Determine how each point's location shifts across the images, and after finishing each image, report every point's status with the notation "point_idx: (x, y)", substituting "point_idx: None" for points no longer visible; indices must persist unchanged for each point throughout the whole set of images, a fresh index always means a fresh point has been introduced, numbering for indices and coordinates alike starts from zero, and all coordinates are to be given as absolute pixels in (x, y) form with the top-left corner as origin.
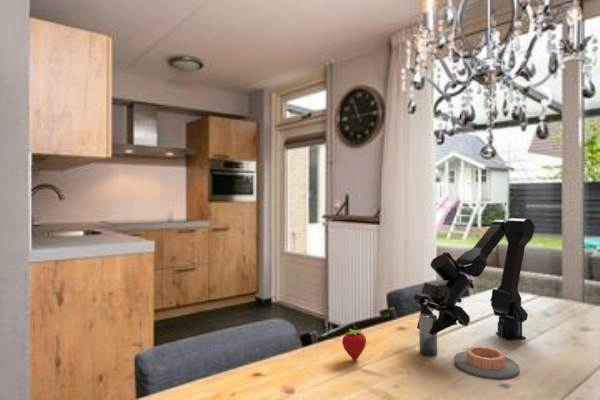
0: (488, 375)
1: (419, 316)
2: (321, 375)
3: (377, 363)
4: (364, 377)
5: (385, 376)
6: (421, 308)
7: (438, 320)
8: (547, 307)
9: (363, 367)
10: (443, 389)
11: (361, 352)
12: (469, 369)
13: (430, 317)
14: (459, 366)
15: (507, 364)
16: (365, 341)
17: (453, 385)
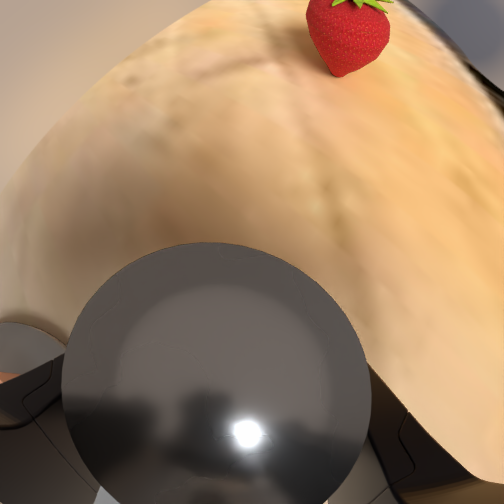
0: None
1: (290, 269)
2: (285, 10)
3: (278, 103)
4: (219, 47)
5: (186, 80)
6: (484, 491)
7: (31, 383)
8: None
9: (275, 66)
10: (37, 165)
11: (323, 57)
12: (9, 323)
13: (111, 357)
14: (47, 335)
15: None
16: (323, 30)
17: (24, 205)
